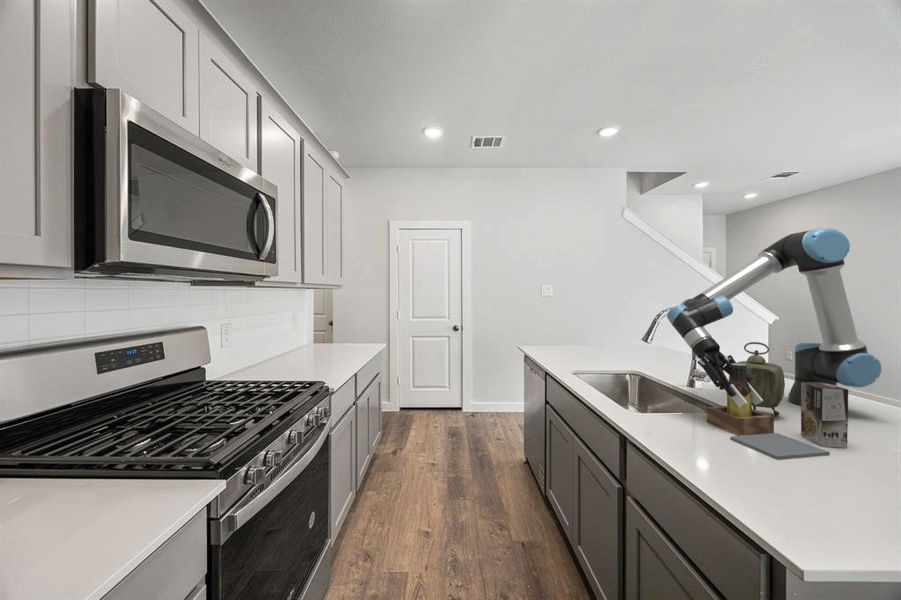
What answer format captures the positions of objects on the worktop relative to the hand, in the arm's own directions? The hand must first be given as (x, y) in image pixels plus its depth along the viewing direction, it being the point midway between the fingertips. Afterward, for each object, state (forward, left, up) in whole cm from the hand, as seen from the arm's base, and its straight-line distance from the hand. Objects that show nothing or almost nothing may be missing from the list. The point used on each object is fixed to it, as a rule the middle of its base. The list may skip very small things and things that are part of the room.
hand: (751, 403), depth 121 cm
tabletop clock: (-16, -14, -9) cm, 23 cm away
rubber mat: (+4, +11, -8) cm, 15 cm away
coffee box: (-13, +10, -9) cm, 19 cm away
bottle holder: (+1, -4, -8) cm, 9 cm away
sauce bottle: (+1, -4, -9) cm, 9 cm away
